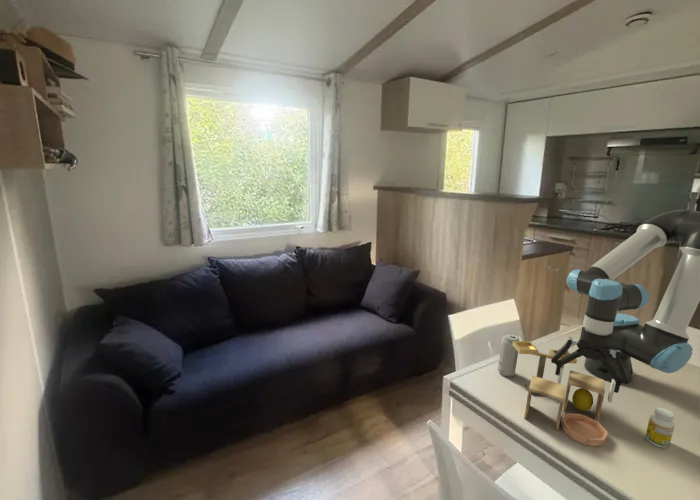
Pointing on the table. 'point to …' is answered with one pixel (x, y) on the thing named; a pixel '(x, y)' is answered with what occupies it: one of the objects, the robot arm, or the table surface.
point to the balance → (529, 348)
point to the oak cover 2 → (588, 384)
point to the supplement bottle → (660, 428)
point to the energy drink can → (508, 356)
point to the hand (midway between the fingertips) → (583, 392)
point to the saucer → (584, 430)
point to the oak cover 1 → (546, 393)
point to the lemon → (582, 399)
